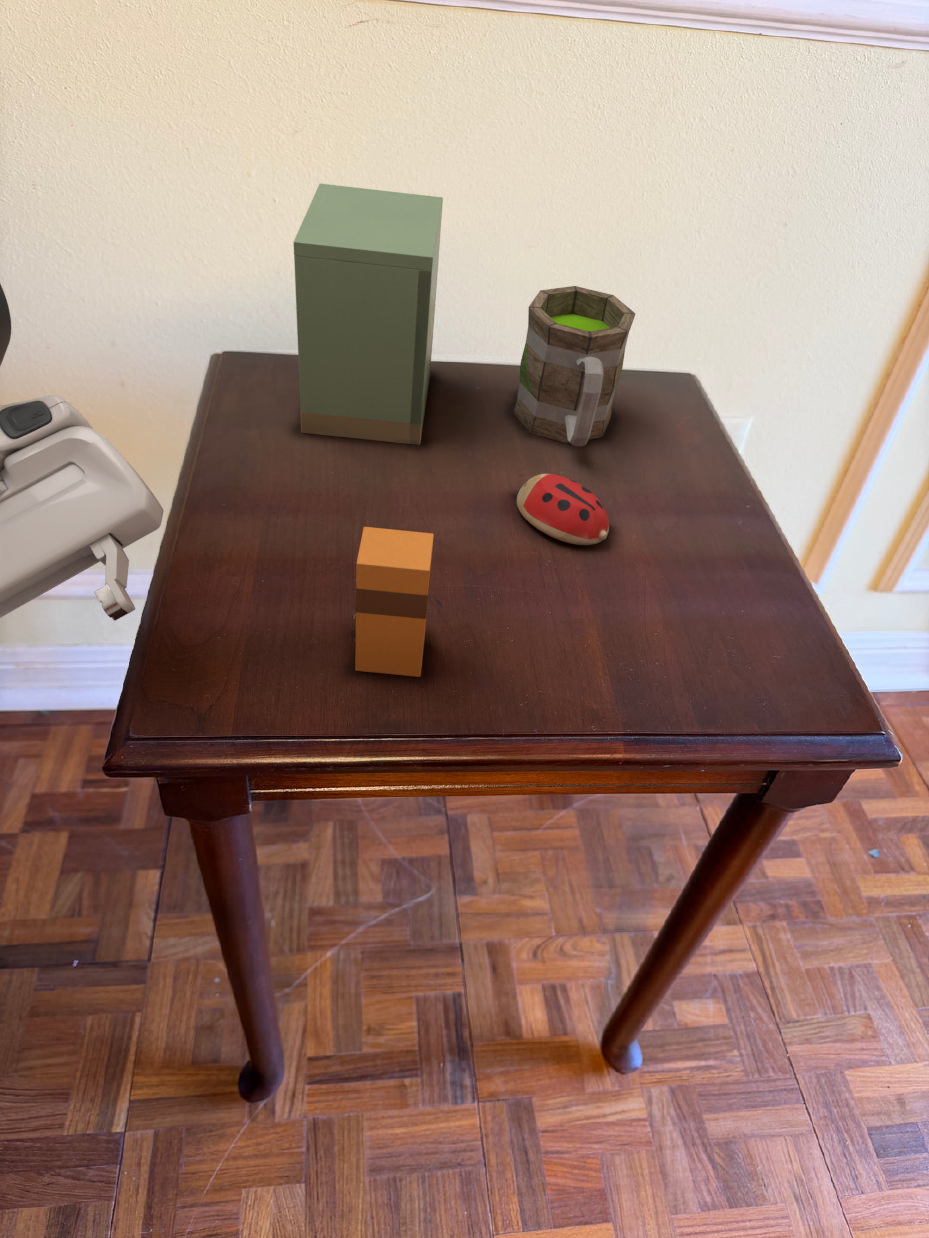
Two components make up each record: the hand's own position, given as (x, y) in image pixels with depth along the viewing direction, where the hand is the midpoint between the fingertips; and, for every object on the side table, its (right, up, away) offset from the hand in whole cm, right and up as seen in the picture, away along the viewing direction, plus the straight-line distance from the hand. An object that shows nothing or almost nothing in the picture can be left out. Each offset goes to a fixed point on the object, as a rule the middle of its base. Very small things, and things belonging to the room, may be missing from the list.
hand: (54, 652), depth 56 cm
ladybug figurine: (+35, +11, +28) cm, 46 cm away
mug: (+36, +22, +40) cm, 58 cm away
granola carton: (+20, -1, +14) cm, 24 cm away
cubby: (+15, +25, +40) cm, 49 cm away
